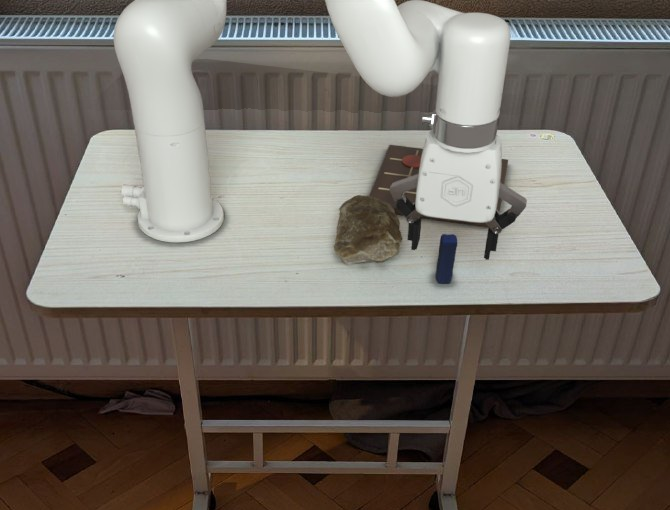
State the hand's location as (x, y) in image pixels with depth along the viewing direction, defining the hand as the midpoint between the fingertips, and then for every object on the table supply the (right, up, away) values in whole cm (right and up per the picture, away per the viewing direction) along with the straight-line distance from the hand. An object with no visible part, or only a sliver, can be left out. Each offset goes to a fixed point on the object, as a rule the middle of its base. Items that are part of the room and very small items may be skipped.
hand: (451, 249), depth 111 cm
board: (+1, +14, +22) cm, 26 cm away
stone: (-11, +2, +9) cm, 14 cm away
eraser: (-1, -4, +4) cm, 5 cm away
